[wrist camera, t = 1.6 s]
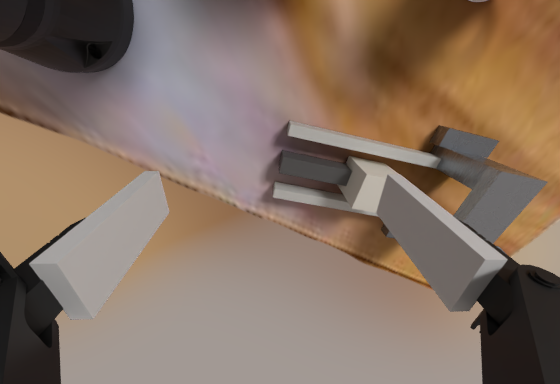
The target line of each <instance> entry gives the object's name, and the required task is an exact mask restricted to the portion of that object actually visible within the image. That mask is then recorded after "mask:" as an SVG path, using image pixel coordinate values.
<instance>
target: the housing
mask: <svg viewBox="0 0 560 384" xmlns="http://www.w3.org/2000/svg"><path fill="white" fill-rule="evenodd" d="M498 142H499V141H498V140H494V139H491V138H487V137H483V136H479V135H475V134H472V133H468V132H464V131H460V130H456V129H452V128H448V127H444V126H440V125H439V126H438V128H437V130H436V132H435V134H434V135H433V137H432V139H431V141H430V143H433V144H435V146H434V147H433V149H432V151H431V154H433V155H435V156H437V157H439V158H441V161H440V162H439V164H438V166H437V167H436V169H437V170H439V171H441V172H443V173H444V174H446V175H448V176H450V177H451V178H453V179H455V180H457V181H458V182H460V183H462V184H464V185H465V186H467V187H469V188H471V189H472V191H471V192H470V193H469V195H468V196H467V198H466V199H465V200H464V202H463V203H462V204H461V206H460V207H459V209H458V210H457V211H456V213H455V214H454V215H453V217H455V218H456V219H458V220H460V221H462V222H464V223H466V224H468V225H469V226H470V227H472V228H473V229H474V230H476V231H477V232H478V234H481V235H482V236H483V237H485V238H486V240H489V241H490V242H491V243H492V244H493V243H494V242H495V241H496V239H497V238H498V237H499V236H500V235H501V234H502V233H503V232H504V231H505V229H506V228H507V227H508V226H509V225H510V224H511V223H512V222H513V220H514V219H515V218H516V217H517V216H518V215H519V214H520V213H521V211H522V210H523V209H524V208H525V207H526V206H527V205H528V204H529V202H530V201H531V200H532V199H533V198H534V197H535V196H536V195H537V194H538V192H539V191H540V190H541V189H542V188H543V187H544V186H545V185H546V183H547V182H546V181H544V180H541V179H539V178H536V177H534V176H531V175H528V174H526V173H523V172H521V171H518V170H515V169H513V168H510V167H508V166H505V165H503V164H500V163H497V162H495V161H492V160H490V159H487V158H488V156H489V155H490V153H491V152H492V151H493V149H494V148H495V146H496V145H497V143H498ZM484 157H486V158H484ZM381 230H382V232H383V233H384V235H385V236H386V237H390V238H395V237H394V236H393V235H392V233H391V232H390V231H389V229H388V228H387V227H386V225H385V224H384V225H383V227H382V229H381Z"/></svg>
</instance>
